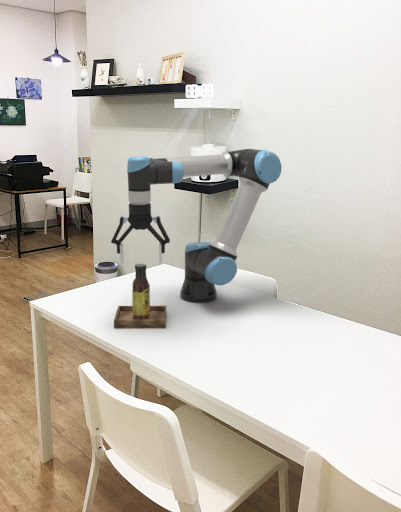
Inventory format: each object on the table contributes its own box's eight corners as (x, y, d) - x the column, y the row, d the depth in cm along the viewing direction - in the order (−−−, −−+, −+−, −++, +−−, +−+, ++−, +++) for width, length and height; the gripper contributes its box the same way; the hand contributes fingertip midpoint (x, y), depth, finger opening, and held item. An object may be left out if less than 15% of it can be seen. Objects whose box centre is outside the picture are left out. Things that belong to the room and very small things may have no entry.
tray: (166, 313, 186) (166, 305, 185) (165, 328, 172) (165, 320, 172) (118, 313, 185) (118, 305, 184) (114, 328, 172) (113, 320, 171)
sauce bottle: (148, 321, 175) (148, 268, 170) (131, 320, 175) (130, 267, 170) (150, 314, 182) (150, 262, 176) (134, 313, 182) (133, 262, 176)
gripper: (176, 200, 171) (176, 258, 177) (104, 200, 170) (107, 259, 176) (176, 204, 164) (176, 265, 170) (101, 204, 163) (104, 265, 169)
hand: (141, 262), depth 173 cm, fingers open, 13 cm apart
